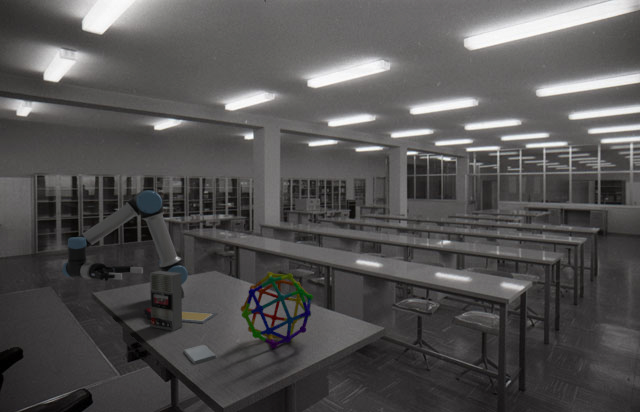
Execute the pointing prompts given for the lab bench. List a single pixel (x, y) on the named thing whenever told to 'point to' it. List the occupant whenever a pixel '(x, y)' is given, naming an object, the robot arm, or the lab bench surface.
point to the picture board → (196, 316)
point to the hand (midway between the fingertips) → (132, 273)
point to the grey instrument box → (166, 300)
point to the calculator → (148, 313)
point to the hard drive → (199, 354)
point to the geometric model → (289, 320)
